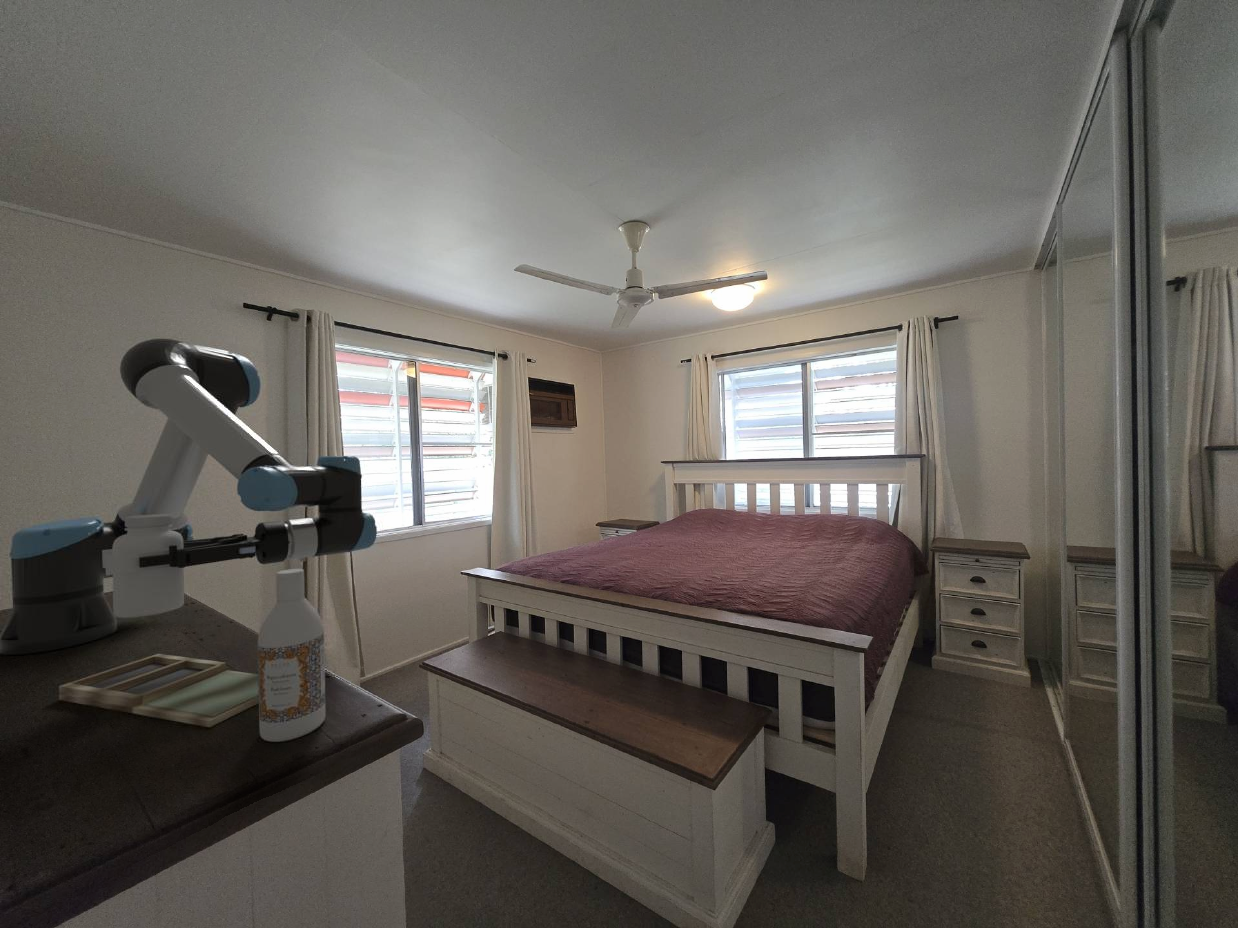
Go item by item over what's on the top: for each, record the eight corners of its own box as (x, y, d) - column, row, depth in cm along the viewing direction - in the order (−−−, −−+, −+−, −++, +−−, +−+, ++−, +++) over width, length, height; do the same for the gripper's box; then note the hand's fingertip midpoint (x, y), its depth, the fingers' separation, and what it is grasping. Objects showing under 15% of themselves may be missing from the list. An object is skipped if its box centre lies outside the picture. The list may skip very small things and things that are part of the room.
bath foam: (247, 747, 57) (244, 579, 56) (275, 717, 63) (272, 567, 63) (313, 739, 58) (309, 575, 58) (333, 710, 65) (330, 563, 65)
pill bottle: (195, 606, 77) (192, 513, 77) (128, 622, 70) (125, 519, 70) (170, 601, 80) (167, 512, 80) (103, 616, 73) (100, 518, 73)
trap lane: (59, 699, 69) (59, 685, 69) (158, 665, 81) (158, 653, 81) (209, 727, 61) (209, 711, 61) (295, 684, 73) (295, 671, 73)
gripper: (303, 567, 82) (109, 598, 64) (269, 555, 95) (101, 577, 78) (302, 524, 82) (107, 543, 64) (268, 517, 95) (99, 532, 78)
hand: (104, 562), depth 71 cm, fingers closed on pill bottle, 8 cm apart
